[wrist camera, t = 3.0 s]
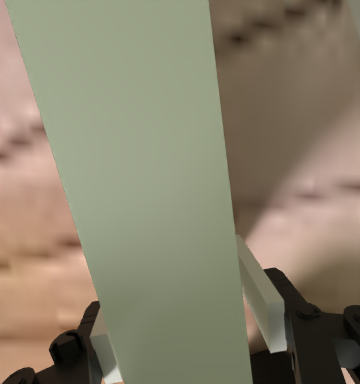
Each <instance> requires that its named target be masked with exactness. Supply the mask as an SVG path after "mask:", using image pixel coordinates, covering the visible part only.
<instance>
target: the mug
mask: <svg viewBox="0 0 360 384" xmlns="http://www.w3.org/2000/svg"><path fill="white" fill-rule="evenodd" d="M250 364H251V373H252V381H253V384H296V381H295V374H294V370H293V368H292V355H291V354H289V353H287V352H283V351H279V352H274V353H270V350H268V351H263V352H259V353H257V354H254V355H252V356H251V357H250Z"/></svg>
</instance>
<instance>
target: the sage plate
mask: <svg viewBox="0 0 360 384" xmlns="http://www.w3.org/2000/svg"><path fill="white" fill-rule="evenodd" d="M5 3H6V6H7V9H8V13H9V16H10V19H11V22H12V25H13V28H14V32H15V35H16V38H17V41H18V44H19V48H20V51H21V54H22V57H23V60H24V64H25V67H26V70H27V73H28V76H29V80H30V83H31V86H32V89H33V92H34V95H35V99H36V102H37V105H38V108H39V111H40V115H41V118H42V121H43V124H44V127H45V131H46V134H47V137H48V140H49V143H50V147H51V150H52V153H53V156H54V159H55V163H56V166H57V169H58V172H59V175H60V178H61V182H62V185H63V188H64V191H65V194H66V198H67V201H68V204H69V207H70V210H71V214H72V217H73V220H74V223H75V226H76V230H77V233H78V236H79V239H80V242H81V246H82V249H83V252H84V255H85V258H86V261H87V265H88V268H89V271H90V274H91V277H92V281H93V284H94V287H95V290H96V293H97V297H98V300H99V303H100V306H101V309H102V313H103V316H104V319H105V322H106V325H107V328H108V332H109V335H110V338H111V341H112V344H113V348H114V351H115V354H116V357H117V360H118V364H119V367H120V370H121V373H122V376H123V380H124V383H125V384H253V381H252V373H251V364H250V355H249V347H248V338H247V329H246V321H245V312H244V303H243V295H242V286H241V278H240V269H239V260H238V252H237V243H236V234H235V226H234V217H233V208H232V200H231V191H230V182H229V174H228V165H227V156H226V148H225V139H224V131H223V122H222V113H221V105H220V96H219V87H218V79H217V70H216V61H215V53H214V44H213V35H212V27H211V18H210V10H209V1H208V0H5Z"/></svg>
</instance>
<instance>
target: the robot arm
mask: <svg viewBox="0 0 360 384" xmlns="http://www.w3.org/2000/svg"><path fill="white" fill-rule="evenodd" d="M236 243H237V252H238V260H239V269H240V278H241V286H242V292H243V294H244V297H245V299H246V301H247V303H248V305H249V307H250V310H251V312H252V314H253V316H254V318H255V320H256V322H257V325H258V327H259V329H260V331H261V333H262V335H263V338H264V340H265V342H266V344H267V346H268V348H269V350H270V353H274V352H279V351H284V350H287V342H288V344H289V346H290V348H291V350H292V368H293V370H294V374H295V381H296V384H346V382H345V379H344V376H343V373H342V370H341V367H342V368H346V370H347V371H348V373H349V374H350V376H351V378H352V379H353V381H354V382H355V384H360V305H351V306H348V307H346V308H345V309H344V314H331V313H324V312H321V310H320V309H319V308H318V307H316V306H315V305H312V304H310V303H307V302H306V301H305V300H304V298H303V297H302V296H301V294H300V293H299V292H298V291H297V289H296V288H295V287H294V286H293V284H292V283H291V282H290V281H289V279H288V278H287V277H286V276H285V274H284V273H283V272H282V271H280V270H278V269H277V268H269V269H264V270H263V269H262V267H261V266H260V264H259V263H258V261H257V260H256V259H255V257H254V256H253V254H252V253H251V251H250V250H249V248H248V247H247V245H246V244H245V242H244V241H243V239H242V238H241V236H240V235H239V234H236ZM286 341H287V342H286ZM49 352H50V354H51V357H52V359H53V361H54V365H52V366H51V367H49V368H46V369H44V370H42V371H40V372H38V373H36V374H35V372H34V369H32V368H30V367H27V368H22V369H20V370H17V371H16V372H14V373H13V374H11V375H10V376H9V377H8V378H7V379H6V380H5V381H4V382H3V383H2V384H101V381H102V377H103V378H104V380H105V383H106V384H111V383H116V382H121V381H123V376H122V373H121V370H120V367H119V364H118V360H117V357H116V354H115V351H114V348H113V344H112V341H111V338H110V335H109V332H108V328H107V325H106V322H105V319H104V316H103V313H102V309H101V306H100V303H99V301H94V302H92V303H91V304H90V305H89V306H88V308H87V309H86V310H85V313H84V315H83V318H82V320H81V322H80V325H79V327H78V329H77V330H69V331H66V332H64V333H62V334H61V335H59V336H58V337H57V338H56V339H55V340H54V341H53V342H52V344H51V345H50V348H49Z"/></svg>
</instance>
